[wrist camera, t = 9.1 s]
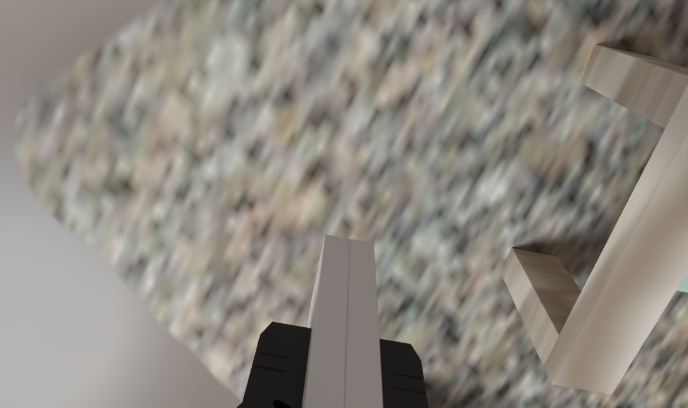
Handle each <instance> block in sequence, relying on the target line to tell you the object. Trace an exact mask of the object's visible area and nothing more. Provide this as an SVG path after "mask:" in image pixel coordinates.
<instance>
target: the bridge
mask: <svg viewBox="0 0 688 408" xmlns="http://www.w3.org/2000/svg"><path fill="white" fill-rule="evenodd" d="M580 83H582V84H583V85H585V86H587V87H589V88H591V89H593V90H594V91H596V92H598V93H600V94H602V95H604V96H605V97H607V98H609V99H611V100H613V101H614V102H616V103H618V104H620V105H622V106H624V107H625V108H627V109H629V110H631V111H633V112H635V113H636V114H638V115H640V116H642V117H644V118H646V119H647V120H649V121H651V122H653V123H655V124H656V125H658V126H660V127H662V128H664V129H665V130H664V132H663V134H662V136H661V138H660V140H659V142H658V144H657V146H656V148H655V150H654V152H653V154H652V156H651V158H650V159H649V161H648V163H647V165H646V167H645V169H644V171H643V173H642V175H641V177H640V179H639V181H638V183H637V185H636V187H635V189H634V191H633V192H632V194H631V196H630V198H629V200H628V202H627V204H626V206H625V208H624V210H623V212H622V214H621V216H620V218H619V220H618V222H617V224H616V226H615V227H614V229H613V231H612V233H611V235H610V237H609V239H608V241H607V243H606V245H605V247H604V249H603V251H602V253H601V255H600V257H599V259H598V261H597V262H596V264H595V266H594V268H593V270H592V272H591V274H590V276H589V278H588V280H587V282H586V284H585V286H584V288H583V290H582V292H581V290H580V289H579V287H578V286H577V284H576V283H575V281H574V280H573V278H572V277H571V275H570V274H569V273H568V271H567V270H566V268H565V267H564V265H563V264H562V262H561V261H560V259H559V258H558V256H554V255H548V254H543V253H537V252H532V251H527V250H521V249H516V248H512V249H511V251H510V254H509V256H508V259H507V261H506V263H505V266H504V268H503V271H502V273H501V274H502V276H503V279H504V281H505V283H506V285H507V287H508V290H509V292H510V294H511V296H512V298H513V300H514V303H515V305H516V307H517V309H518V311H519V314H520V316H521V318H522V320H523V322H524V325H525V327H526V329H527V331H528V333H529V335H530V338H531V340H532V342H533V344H534V346H535V349H536V351H537V353H538V355H539V357H540V360H541V362H542V364H543V366H544V368H545V370H546V373H547V375H548V377H549V379H550V381H551V384H552V385H558V386H564V387H570V388H576V389H581V390H587V391H593V392H599V393H605V394H611V395H612V393H613V391H614V390H615V388H616V386H617V385H618V383H619V382H620V380H621V378H622V377H623V375H624V374H625V372H626V370H627V369H628V367H629V366H630V364H631V362H632V361H633V359H634V358H635V356H636V354H637V353H638V351H639V349H640V348H641V346H642V345H643V343H644V341H645V340H646V338H647V337H648V335H649V333H650V332H651V330H652V329H653V327H654V325H655V324H656V322H657V321H658V319H659V317H660V316H661V314H662V313H663V311H664V309H665V308H666V306H667V304H668V303H669V301H670V300H671V298H672V296H673V295H674V293H675V292H676V290H677V288H678V287H679V285H680V284H681V282H682V280H683V279H684V277H685V276H686V274H687V272H688V68H686V67H683V66H679V65H676V64H673V63H670V62H667V61H664V60H661V59H658V58H655V57H652V56H647V55H643V54H638V53H634V52H629V51H624V50H620V49H615V48H611V47H606V46H601V45H597V44H596V46H595V49H594V51H593V53H592V56H591V58H590V61H589V63H588V65H587V68H586V70H585V73H584V75H583V77H582V80H581V82H580Z"/></svg>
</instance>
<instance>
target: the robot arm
mask: <svg viewBox="0 0 688 408" xmlns="http://www.w3.org/2000/svg"><path fill="white" fill-rule="evenodd" d="M423 379H424V376H423V370H422V363H421V360H420V358H419V356H418V355H417V353H416V352H415V350H414V349H413V347H412V345H411V344H407V343H401V342H396V341H390V340H384V339H379V324H378V306H377V288H376V270H375V252H374V243H369V242H364V241H359V240H353V239H348V238H342V237H337V236H331V235H326V234H325V238H324V242H323V247H322V252H321V257H320V262H319V266H318V271H317V276H316V281H315V286H314V290H313V295H312V300H311V305H310V312H309V319H308V326H307V328H306V327H300V326H295V325H289V324H283V323H277V322H272V323H271V324H270V325H269V326H268V327H267V328H266V329H265V330H264V331H263V332H262V333H261V334H260V337H259V341H258V345H257V349H256V353H255V356H254V360H253V364H252V368H251V372H250V375H249V379H248V383H247V387H246V391H245V394H244V398H243V402H242V403H241V404H240V405H239V406H238V407H237V408H428V402H427V396H426V389H425V383H424V381H423Z"/></svg>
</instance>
